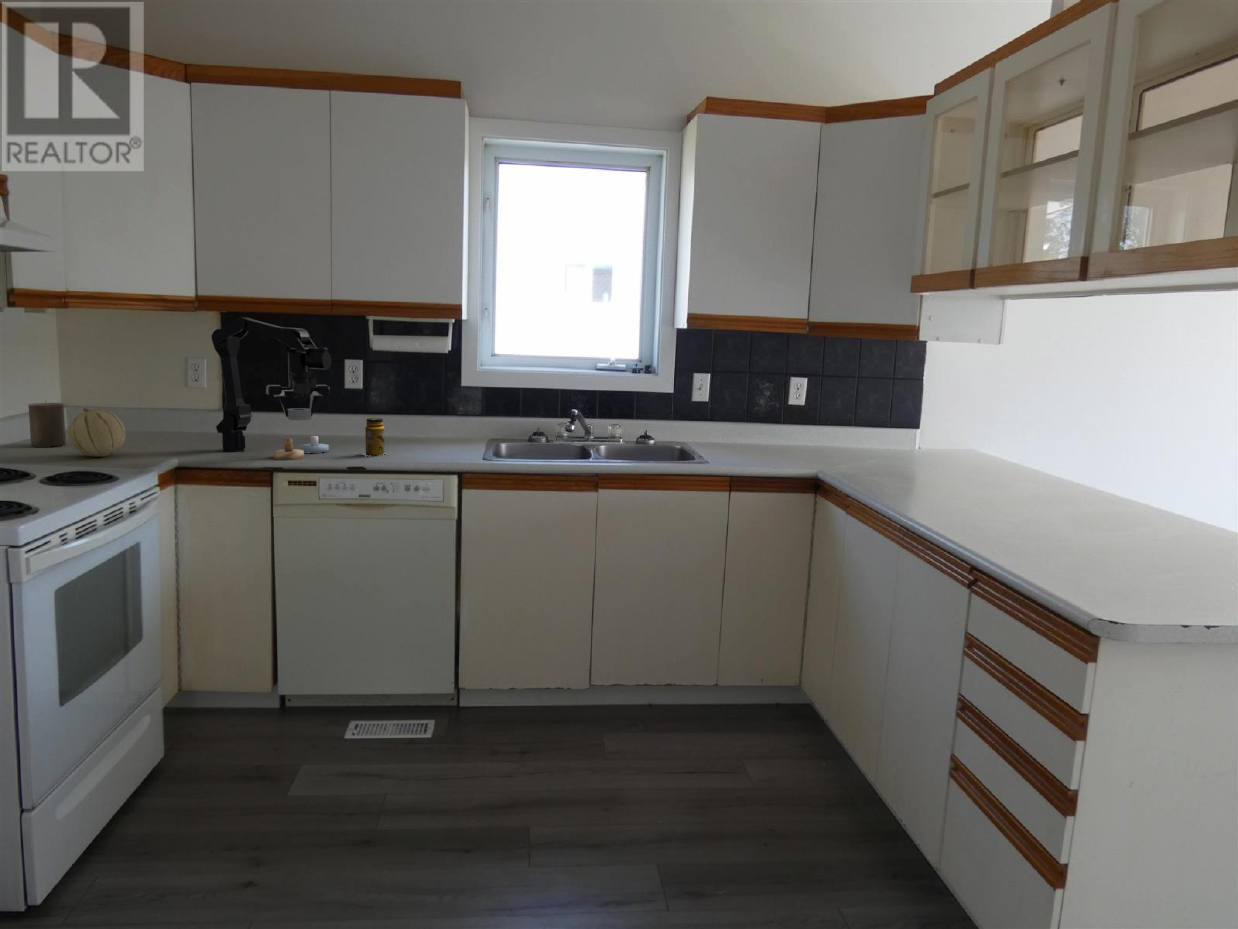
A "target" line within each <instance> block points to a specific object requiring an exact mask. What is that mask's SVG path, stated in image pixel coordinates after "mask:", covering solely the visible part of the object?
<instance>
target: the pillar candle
mask: <svg viewBox="0 0 1238 929" xmlns="http://www.w3.org/2000/svg"><path fill="white" fill-rule="evenodd" d="M27 405H28V417H29V420H28V421H29V433H30V434H29V435H30V445H31V447H34V448H51V447H50V446H57V447H61V446H60V445H65V446H66V445H67V438H66V437H67V436H66V424H65V423H66V422H65V409H64V408H65V406H64V403H62V402H47V399H45V402H37V403H36V402H35V403H28V404H27Z"/></svg>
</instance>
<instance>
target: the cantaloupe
mask: <svg viewBox="0 0 1238 929" xmlns="http://www.w3.org/2000/svg"><path fill="white" fill-rule="evenodd" d="M82 411H84V412H82V413H79V414H78V415H77V416H75V417H74V418H73V419H72V421H71V423H70V425H69V430H68V431H69V432H68V433H69V440H70V442H71V444H72V446H73V447H74V448H75V449H76V450H77V451H78V452H79V453H81V454H83V455H85V456H86V457H87V456H88V457H91V458H93V457H94V458H99V457H100V458H101V457H102V458H104V457H108V456H110V455H111V454H112V453H115V452H116V451H118V450H119V449H121V447H122V446H123V445H124V443H125V441H126V428H125V425H124V423H123V422H122V420H121V419H120V418H119V417H118V416H117V415H116V414H115V413H113V412H111V411H110V410H109V411H108V410H106V409H101V408H100V409H99V408H97V409H96V408H95V409H90V408H89V409H88V408H86V407H85V408H83V409H82Z"/></svg>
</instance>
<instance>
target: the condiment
mask: <svg viewBox="0 0 1238 929" xmlns="http://www.w3.org/2000/svg"><path fill="white" fill-rule="evenodd" d="M364 434H365V435H364V436H365V453H366V455H383V456H385V455H384V454H385V426H384V420H383V418H380V417H369V418H367V419H366V426H365V433H364ZM361 453H362V452H357V453H355V454H356V455H359V456H361ZM387 454H388V453H387ZM389 455H390V454H388V455H387V456H389ZM364 457H366V458H367V456H364Z"/></svg>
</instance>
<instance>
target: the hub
mask: <svg viewBox="0 0 1238 929" xmlns="http://www.w3.org/2000/svg"><path fill="white" fill-rule="evenodd" d="M329 446H330V445H329V444H327V443H319V436H318V435H317V436H316V435H311V436H310V443H305V444H300V445H299V450H303V451H304V452H310V453H317V454H322V453H321V452H326V453H329V452H330V447H329ZM310 453H309V454H310Z"/></svg>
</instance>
